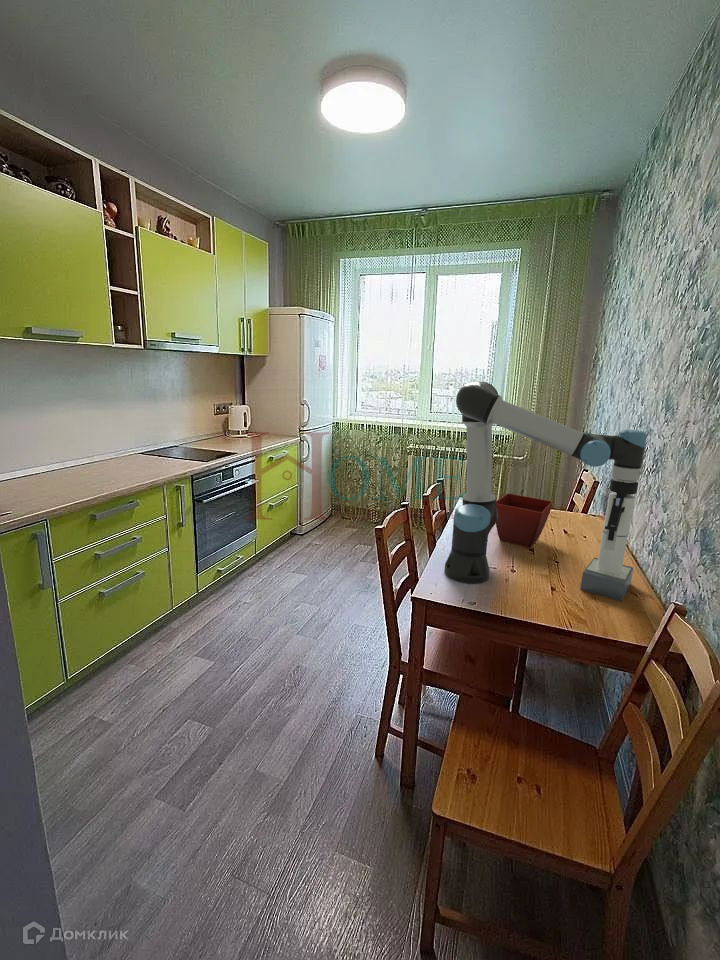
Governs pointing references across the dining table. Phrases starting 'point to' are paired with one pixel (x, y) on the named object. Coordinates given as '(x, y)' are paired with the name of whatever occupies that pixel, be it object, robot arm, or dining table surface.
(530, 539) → the plant pot
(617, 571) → the cylindrical container
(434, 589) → the dining table surface
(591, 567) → the grey rectangular block
